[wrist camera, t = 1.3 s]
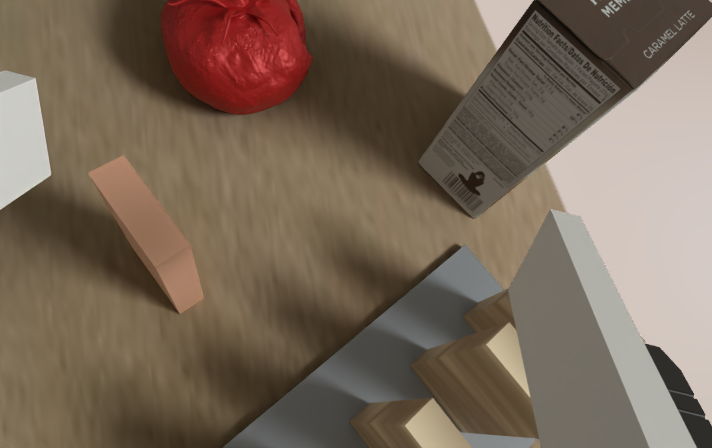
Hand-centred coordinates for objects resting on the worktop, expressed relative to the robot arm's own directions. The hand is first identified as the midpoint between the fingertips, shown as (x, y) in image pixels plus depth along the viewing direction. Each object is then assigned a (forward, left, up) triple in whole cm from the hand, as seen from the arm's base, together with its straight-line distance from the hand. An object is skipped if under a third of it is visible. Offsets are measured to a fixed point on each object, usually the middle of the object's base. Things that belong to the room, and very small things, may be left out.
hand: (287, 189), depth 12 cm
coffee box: (0, +21, -19) cm, 28 cm away
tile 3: (+11, +1, -18) cm, 21 cm away
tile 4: (+11, +6, -18) cm, 22 cm away
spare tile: (-5, -3, -19) cm, 19 cm away
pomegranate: (-15, +9, -19) cm, 26 cm away
